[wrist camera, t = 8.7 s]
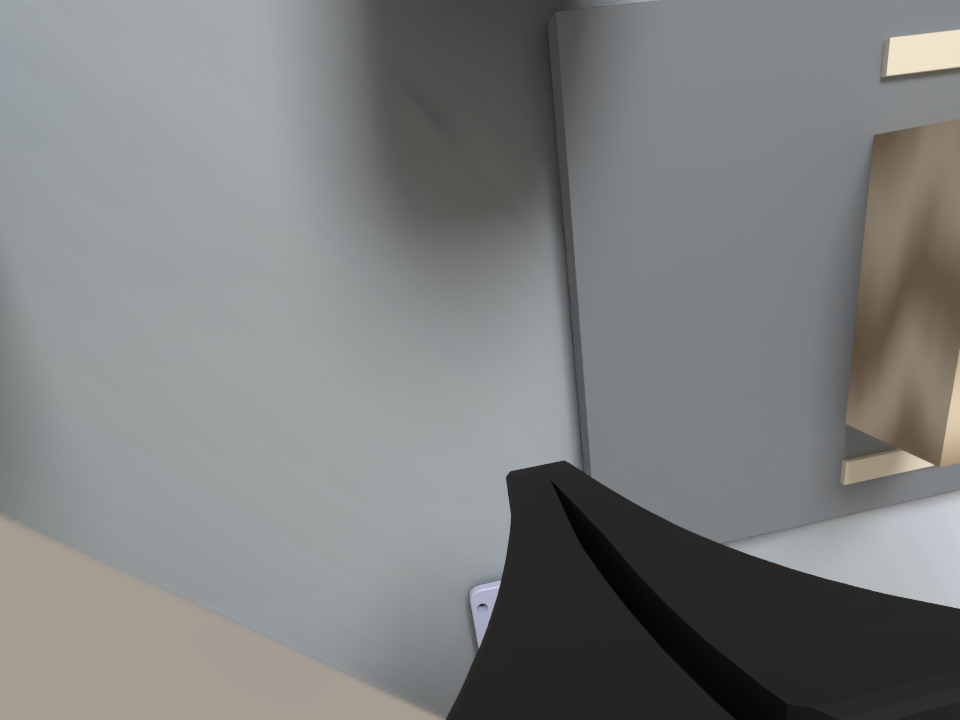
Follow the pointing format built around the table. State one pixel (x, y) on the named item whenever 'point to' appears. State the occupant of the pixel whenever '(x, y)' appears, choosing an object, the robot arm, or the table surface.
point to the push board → (734, 245)
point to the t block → (910, 296)
